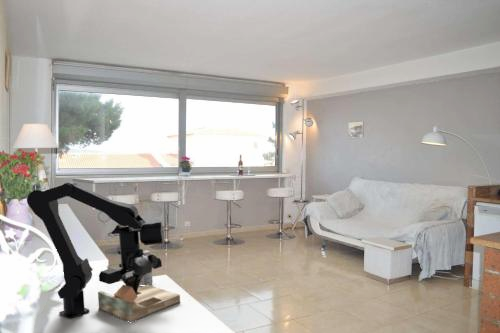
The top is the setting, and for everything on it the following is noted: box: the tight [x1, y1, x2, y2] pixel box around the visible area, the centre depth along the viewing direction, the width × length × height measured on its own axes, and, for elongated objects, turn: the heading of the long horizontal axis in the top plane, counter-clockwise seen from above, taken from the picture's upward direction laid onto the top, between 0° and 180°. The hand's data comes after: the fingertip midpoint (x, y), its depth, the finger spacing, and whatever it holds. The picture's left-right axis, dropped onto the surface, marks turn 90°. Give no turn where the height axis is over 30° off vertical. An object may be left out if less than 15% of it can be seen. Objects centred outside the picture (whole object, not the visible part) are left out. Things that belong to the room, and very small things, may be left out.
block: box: [113, 284, 138, 303], centre depth 118 cm, size 4×4×4 cm
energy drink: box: [139, 249, 153, 285], centre depth 143 cm, size 5×5×12 cm
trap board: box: [97, 284, 181, 323], centre depth 123 cm, size 17×18×5 cm
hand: (134, 296), depth 121 cm, fingers closed
